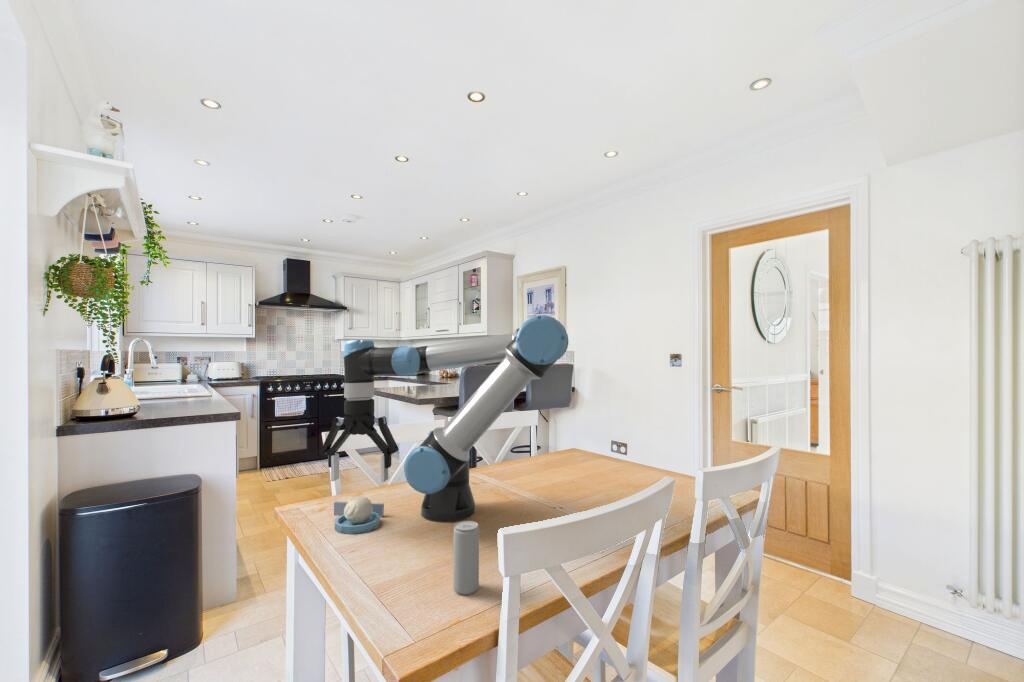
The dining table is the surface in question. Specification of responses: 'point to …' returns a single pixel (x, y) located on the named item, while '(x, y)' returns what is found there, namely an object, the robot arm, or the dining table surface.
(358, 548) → the dining table surface
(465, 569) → the beverage can
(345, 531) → the saucer
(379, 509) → the panel
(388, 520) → the dining table surface
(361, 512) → the cream creased ball
